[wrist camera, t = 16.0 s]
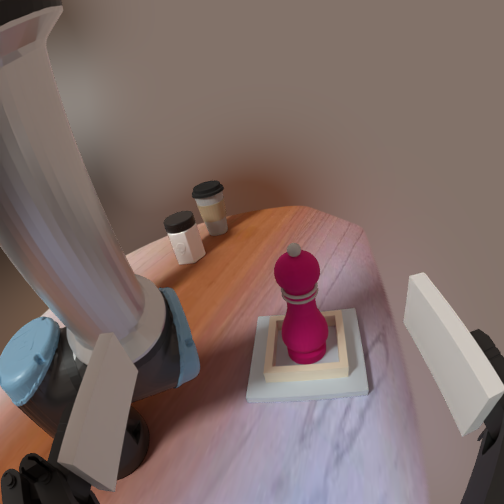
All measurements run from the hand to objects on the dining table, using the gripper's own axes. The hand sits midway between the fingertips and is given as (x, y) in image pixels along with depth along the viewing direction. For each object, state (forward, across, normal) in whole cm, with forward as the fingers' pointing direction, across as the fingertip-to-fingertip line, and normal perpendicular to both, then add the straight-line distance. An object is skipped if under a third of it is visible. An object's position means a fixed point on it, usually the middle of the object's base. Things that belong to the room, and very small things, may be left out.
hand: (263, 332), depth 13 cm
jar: (+66, -20, -32) cm, 76 cm away
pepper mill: (+25, +4, -31) cm, 40 cm away
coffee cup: (+78, -13, -32) cm, 85 cm away
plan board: (+25, +4, -32) cm, 41 cm away
